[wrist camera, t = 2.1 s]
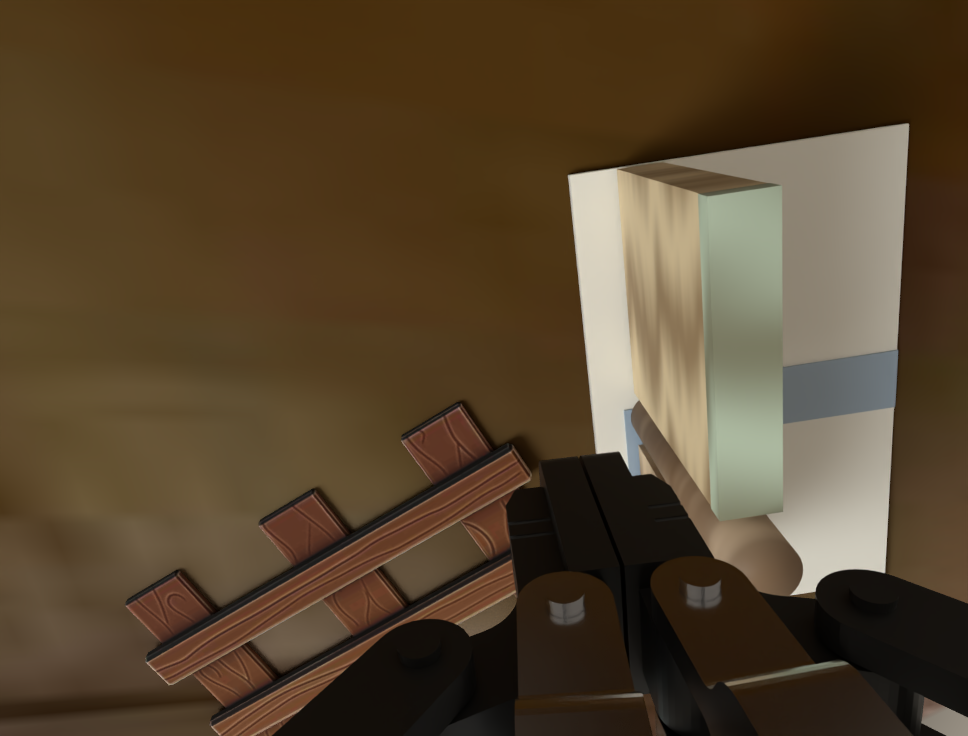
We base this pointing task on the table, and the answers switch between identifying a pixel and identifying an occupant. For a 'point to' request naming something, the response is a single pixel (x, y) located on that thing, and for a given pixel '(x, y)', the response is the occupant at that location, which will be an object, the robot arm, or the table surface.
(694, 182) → the gate panel
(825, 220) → the card
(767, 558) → the fixed leg
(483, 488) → the decorative fence
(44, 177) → the table surface
